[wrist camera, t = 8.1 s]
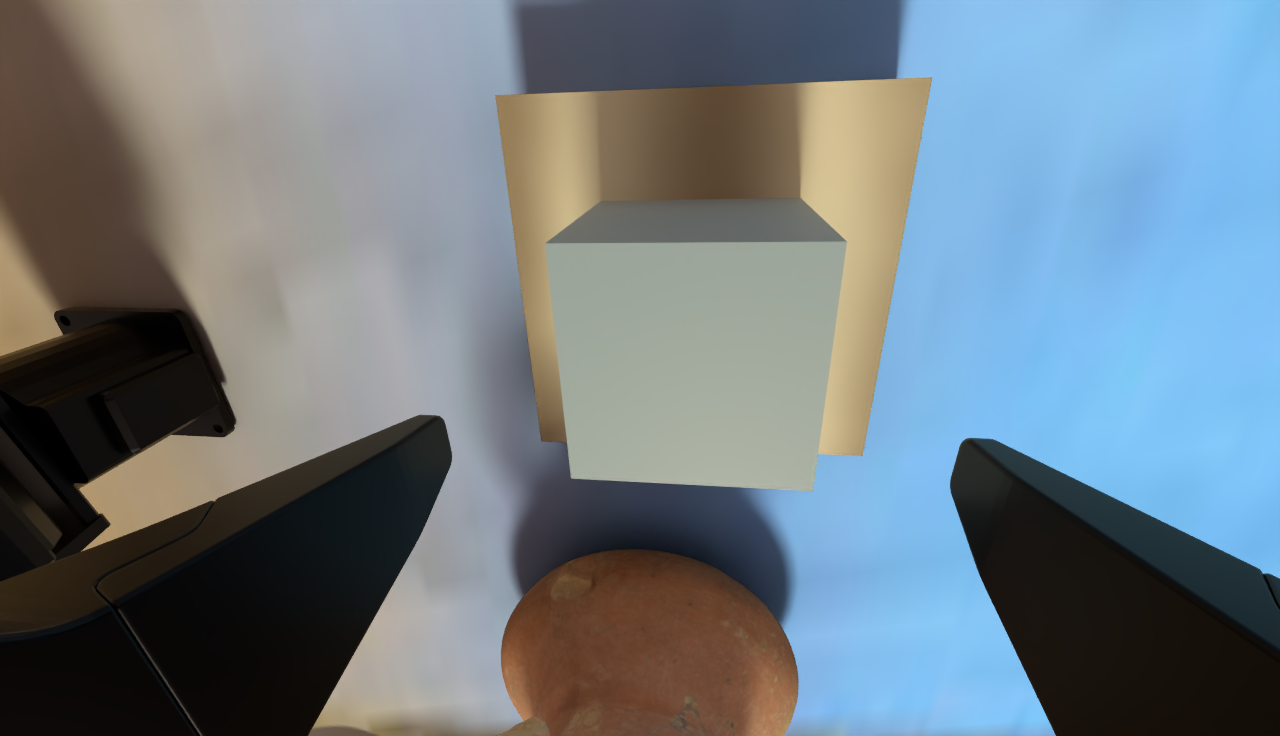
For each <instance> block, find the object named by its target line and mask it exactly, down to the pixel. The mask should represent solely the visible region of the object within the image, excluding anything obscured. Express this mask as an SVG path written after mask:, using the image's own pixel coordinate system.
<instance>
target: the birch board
mask: <svg viewBox="0 0 1280 736" xmlns="http://www.w3.org/2000/svg"><path fill="white" fill-rule="evenodd" d="M931 81H932V77H929V78H905V79H880V80H856V81H832V82H808V83H784V84H760V85H735V86H711V87H687V88H663V89H639V90H615V91H590V92H566V93H542V94H518V95H495V96H496V104H497V111H498V119H499V126H500V134H501V141H502V149H503V156H504V164H505V171H506V179H507V186H508V194H509V201H510V209H511V216H512V224H513V231H514V239H515V246H516V254H517V261H518V269H519V276H520V284H521V291H522V299H523V306H524V314H525V321H526V329H527V336H528V344H529V351H530V359H531V366H532V374H533V381H534V389H535V396H536V404H537V411H538V419H539V426H540V434H541V441H545V442H567V438H566V429H565V420H564V411H563V402H562V393H561V384H560V375H559V366H558V357H557V348H556V339H555V330H554V321H553V312H552V303H551V294H550V285H549V276H548V267H547V258H546V249H545V243H546V242H547V241H549V240H550V239H551V238H553V237H554V236H555V235H557V234H558V233H559V232H561V231H562V230H563V229H565V228H566V227H567V226H569V225H570V224H571V223H573V222H574V221H575V220H576V219H578V218H579V217H580V216H582V215H583V214H584V213H586V212H587V211H588V210H590V209H591V208H592V207H594V206H595V205H596V204H598V203H599V202H600V201H639V200H698V199H757V198H801V199H802V200H803V201H804V202H806V203H807V204H808V205H809V206H810V207H811V208H812V209H813V210H814V211H815V212H816V213H817V214H818V215H819V216H820V217H821V218H823V219H824V220H825V221H826V222H827V223H828V224H829V225H830V226H831V227H832V228H833V229H834V230H835V231H836V232H837V233H839V234H840V235H841V236H842V237H843V238H844V239H845V240H846V241H847V246H846V253H845V260H844V268H843V275H842V282H841V290H840V297H839V304H838V312H837V319H836V326H835V334H834V341H833V348H832V355H831V363H830V370H829V377H828V385H827V392H826V399H825V407H824V414H823V421H822V429H821V436H820V443H819V451H818V454H831V455H853V456H863V450H864V445H865V439H866V434H867V429H868V423H869V418H870V412H871V407H872V401H873V396H874V391H875V385H876V380H877V374H878V369H879V363H880V358H881V353H882V347H883V342H884V336H885V331H886V325H887V320H888V315H889V309H890V304H891V298H892V293H893V287H894V282H895V277H896V271H897V266H898V260H899V255H900V249H901V244H902V239H903V233H904V228H905V222H906V217H907V211H908V206H909V201H910V195H911V190H912V184H913V179H914V173H915V168H916V163H917V157H918V152H919V146H920V141H921V135H922V130H923V125H924V119H925V114H926V108H927V103H928V97H929V92H930V87H931Z"/></svg>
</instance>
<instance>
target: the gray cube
mask: <svg viewBox="0 0 1280 736" xmlns="http://www.w3.org/2000/svg"><path fill="white" fill-rule="evenodd" d="M846 246H847V241H846V240H845V239H844V238H843V237H842V236H841V235H840V234H839V233H837V232H836V231H835V230H834V229H833V228H832V227H831V226H830V225H829V224H828V223H827V222H826V221H825V220H824V219H823V218H821V217H820V216H819V215H818V214H817V213H816V212H815V211H814V210H813V209H812V208H811V207H810V206H809V205H808V204H807V203H806V202H804V201H803V200H802V199H801V198H757V199H698V200H639V201H600V202H599V203H598V204H596V205H595V206H594V207H592V208H591V209H590V210H588V211H587V212H586V213H584V214H583V215H582V216H580V217H579V218H578V219H576V220H575V221H574V222H573V223H571V224H570V225H569V226H567V227H566V228H565V229H563V230H562V231H561V232H559V233H558V234H557V235H555V236H554V237H553V238H551V239H550V240H549V241H547V242H546V243H545V249H546V258H547V267H548V276H549V285H550V294H551V303H552V312H553V321H554V330H555V339H556V348H557V357H558V366H559V375H560V384H561V393H562V402H563V411H564V420H565V429H566V438H567V447H568V456H569V465H570V473H571V479H590V480H609V481H628V482H647V483H666V484H685V485H704V486H723V487H742V488H761V489H780V490H799V491H813V487H814V480H815V473H816V465H817V458H818V451H819V443H820V436H821V429H822V421H823V414H824V407H825V399H826V392H827V385H828V377H829V370H830V363H831V355H832V348H833V341H834V334H835V326H836V319H837V312H838V304H839V297H840V290H841V282H842V275H843V268H844V260H845V253H846Z"/></svg>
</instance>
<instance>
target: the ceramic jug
mask: <svg viewBox="0 0 1280 736" xmlns="http://www.w3.org/2000/svg"><path fill="white" fill-rule="evenodd" d="M501 666H502V673H503V678H504V682H505V685H506V688H507V691H508V693H509V696H510V698H511V700H512V702H513V704H514V706H515V708H516V709H517V711H518V713H519V714H520V716H521V717H522V719H523V720H524V722H521V723H519V724H517V725H515V726H514V727H513V728H511V729H510V730H508V731H506V732H504V733H502V734H500V735H495V736H783V735H784V734H785V732H786V730H787V728H788V726H789V724H790V722H791V720H792V717H793V714H794V710H795V707H796V703H797V697H798V671H797V665H796V661H795V657H794V654H793V651H792V648H791V645H790V643H789V640H788V638H787V636H786V634H785V633H784V631H783V629H782V627H781V625H780V624H779V622H778V621H777V619H776V618H775V616H774V615H773V614H772V612H771V611H770V610H769V608H768V607H767V606H766V605H765V604H764V603H763V602H762V601H761V600H760V599H759V598H758V597H757V596H756V595H755V594H753V593H752V592H751V591H750V590H749V589H747V588H746V587H745V586H743V585H742V584H740V583H739V582H737V581H736V580H734V579H733V578H731V577H730V576H728V575H727V574H725V573H724V572H722V571H720V570H719V569H717V568H715V567H713V566H711V565H709V564H706V563H704V562H701V561H698V560H696V559H692V558H689V557H686V556H682V555H678V554H674V553H669V552H663V551H656V550H643V549H622V550H610V551H603V552H598V553H594V554H589V555H586V556H582V557H579V558H576V559H573V560H570V561H568V562H566V563H564V564H562V565H561V566H559V567H557V568H555V569H554V570H552V571H551V572H550V573H548V574H547V575H546V576H544V577H543V578H542V579H540V580H539V581H538V582H537V583H536V584H535V585H534V586H533V587H532V588H531V589H530V590H529V591H528V592H527V593H526V594H525V595H524V597H523V598H522V599H521V600H520V602H519V603H518V605H517V606H516V608H515V609H514V611H513V612H512V614H511V616H510V618H509V620H508V623H507V625H506V628H505V632H504V635H503V640H502V648H501Z"/></svg>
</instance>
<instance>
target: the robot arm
mask: <svg viewBox="0 0 1280 736" xmlns="http://www.w3.org/2000/svg"><path fill="white" fill-rule="evenodd" d="M54 317H55V320H56V322H57V324H58V326H59V328H60V330H61V331H62V333H63V335H62V336H59V337H56V338H53V339H50V340H47V341H44V342H41V343H38V344H35V345H32V346H30V347H27V348H24V349H21V350H18V351H15V352H12V353H9V354H6V355H3V356H0V736H308V735H309V733H310V731H311V729H312V728H313V726H314V724H315V722H316V720H317V719H318V717H319V715H320V713H321V712H322V710H323V708H324V706H325V704H326V703H327V701H328V699H329V697H330V696H331V694H332V692H333V690H334V688H335V687H336V685H337V683H338V681H339V680H340V678H341V676H342V674H343V672H344V671H345V669H346V667H347V665H348V664H349V662H350V660H351V658H352V656H353V655H354V653H355V651H356V649H357V648H358V646H359V644H360V642H361V640H362V639H363V637H364V635H365V633H366V632H367V630H368V628H369V626H370V624H371V623H372V621H373V619H374V617H375V616H376V614H377V612H378V610H379V608H380V607H381V605H382V603H383V601H384V600H385V598H386V596H387V594H388V592H389V591H390V589H391V587H392V585H393V584H394V582H395V580H396V578H397V576H398V575H399V573H400V571H401V569H402V568H403V566H404V564H405V562H406V561H407V559H408V557H409V555H410V553H411V552H412V550H413V548H414V546H415V544H416V542H417V541H418V539H419V537H420V535H421V533H422V531H423V528H424V526H425V524H426V522H427V520H428V517H429V515H430V513H431V510H432V508H433V506H434V503H435V501H436V499H437V496H438V494H439V492H440V489H441V487H442V485H443V482H444V480H445V478H446V475H447V473H448V471H449V468H450V466H451V462H452V451H451V447H450V442H449V438H448V434H447V429H446V425H445V422H444V420H443V418H441V417H440V416H436V415H418V416H415V417H413V418H410V419H408V420H406V421H403V422H401V423H398V424H396V425H394V426H391V427H389V428H386V429H384V430H381V431H379V432H377V433H374V434H372V435H369V436H367V437H365V438H362V439H360V440H357V441H355V442H352V443H350V444H348V445H345V446H343V447H340V448H338V449H336V450H333V451H331V452H328V453H326V454H323V455H321V456H319V457H316V458H314V459H311V460H309V461H306V462H304V463H302V464H299V465H297V466H294V467H292V468H290V469H287V470H285V471H282V472H280V473H277V474H275V475H273V476H270V477H268V478H265V479H263V480H261V481H258V482H256V483H253V484H251V485H248V486H246V487H244V488H241V489H239V490H236V491H234V492H232V493H229V494H227V495H224V496H222V497H219V498H218V499H216V501H215V502H214V501H209V502H207V503H205V504H202V505H200V506H197V507H195V508H193V509H190V510H188V511H185V512H183V513H180V514H178V515H175V516H173V517H170V518H168V519H165V520H163V521H160V522H158V523H155V524H153V525H150V526H148V527H145V528H143V529H140V530H138V531H135V532H132V533H130V534H127V535H124V536H122V537H119V538H117V539H114V540H111V541H109V542H106V543H103V544H101V545H98V546H96V547H93V548H90V549H87V550H85V551H82V550H83V549H84V548H85V547H86V546H87V545H89V544H90V543H91V542H92V541H93V540H94V539H95V538H96V537H97V536H99V535H100V534H101V533H102V532H103V531H104V530H105V529H106V528H108V527H109V526H110V525H111V524H110V522H109V521H108V520H107V519H106V518H105V516H104V515H103V514H98V512H97V511H96V510H95V509H94V507H93V506H92V505H91V504H90V503H89V501H88V500H87V499H86V498H85V496H84V495H83V494H82V493H81V491H80V490H79V488H81V487H83V486H85V485H86V484H88V483H90V482H91V481H93V480H95V479H96V478H98V477H100V476H102V475H103V474H105V473H107V472H108V471H110V470H112V469H113V468H115V467H117V466H119V465H120V464H122V463H124V462H125V461H127V460H129V459H130V458H132V457H134V456H136V455H137V454H139V453H141V452H143V451H144V450H146V449H148V448H149V447H151V446H153V445H155V444H156V443H158V442H160V441H161V440H163V439H165V438H166V437H168V436H170V435H187V436H208V437H225V436H227V435H228V434H230V433H231V432H233V431H234V428H235V427H234V424H233V421H232V419H231V417H230V414H229V412H228V410H227V407H226V405H225V403H224V400H223V398H222V396H221V393H220V391H219V389H218V386H217V384H216V382H215V379H214V377H213V375H212V372H211V370H210V368H209V365H208V363H207V361H206V358H205V356H204V354H203V351H202V349H201V347H200V344H199V342H198V340H197V337H196V335H195V333H194V330H193V328H192V326H191V323H190V321H189V319H188V317H187V316H186V315H185V314H184V313H183V312H182V311H180V310H177V309H138V308H65V309H62V310H59V311H56V312H55V313H54ZM950 489H951V494H952V497H953V500H954V503H955V506H956V509H957V512H958V515H959V518H960V520H961V523H962V526H963V529H964V532H965V535H966V538H967V541H968V544H969V547H970V550H971V552H972V555H973V558H974V561H975V564H976V567H977V569H978V572H979V574H980V577H981V579H982V581H983V584H984V586H985V588H986V590H987V592H988V595H989V597H990V599H991V601H992V603H993V605H994V607H995V609H996V611H997V613H998V615H999V618H1000V620H1001V622H1002V624H1003V626H1004V628H1005V630H1006V632H1007V634H1008V636H1009V638H1010V641H1011V643H1012V645H1013V647H1014V649H1015V651H1016V653H1017V655H1018V657H1019V659H1020V661H1021V664H1022V666H1023V668H1024V670H1025V672H1026V674H1027V676H1028V678H1029V680H1030V682H1031V684H1032V687H1033V689H1034V691H1035V693H1036V695H1037V697H1038V699H1039V701H1040V703H1041V705H1042V707H1043V710H1044V712H1045V714H1046V716H1047V718H1048V720H1049V722H1050V724H1051V726H1052V728H1053V730H1054V732H1055V735H1056V736H1280V579H1279V578H1277V577H1275V576H1273V575H1271V574H1268V573H1266V574H1263V573H1262V571H1261V570H1260V569H1258V568H1256V567H1254V566H1252V565H1250V564H1248V563H1246V562H1244V561H1242V560H1240V559H1238V558H1236V557H1234V556H1232V555H1230V554H1228V553H1226V552H1224V551H1222V550H1220V549H1217V548H1215V547H1213V546H1211V545H1209V544H1207V543H1205V542H1203V541H1201V540H1199V539H1197V538H1195V537H1193V536H1191V535H1189V534H1187V533H1185V532H1183V531H1181V530H1178V529H1176V528H1174V527H1172V526H1170V525H1168V524H1166V523H1164V522H1162V521H1160V520H1158V519H1156V518H1154V517H1152V516H1150V515H1148V514H1146V513H1144V512H1142V511H1139V510H1137V509H1135V508H1133V507H1131V506H1129V505H1127V504H1125V503H1123V502H1121V501H1119V500H1117V499H1115V498H1113V497H1111V496H1109V495H1107V494H1105V493H1103V492H1100V491H1098V490H1096V489H1094V488H1092V487H1090V486H1088V485H1086V484H1084V483H1082V482H1080V481H1078V480H1076V479H1074V478H1072V477H1070V476H1068V475H1066V474H1064V473H1061V472H1059V471H1057V470H1055V469H1053V468H1051V467H1049V466H1047V465H1045V464H1043V463H1041V462H1039V461H1037V460H1035V459H1033V458H1031V457H1029V456H1027V455H1025V454H1022V453H1020V452H1018V451H1016V450H1014V449H1012V448H1010V447H1008V446H1006V445H1004V444H1002V443H1000V442H998V441H996V440H993V439H981V438H967V439H965V440H964V441H963V442H962V443H961V445H960V447H959V451H958V454H957V458H956V462H955V465H954V469H953V472H952V476H951V480H950ZM81 551H82V552H81Z"/></svg>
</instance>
